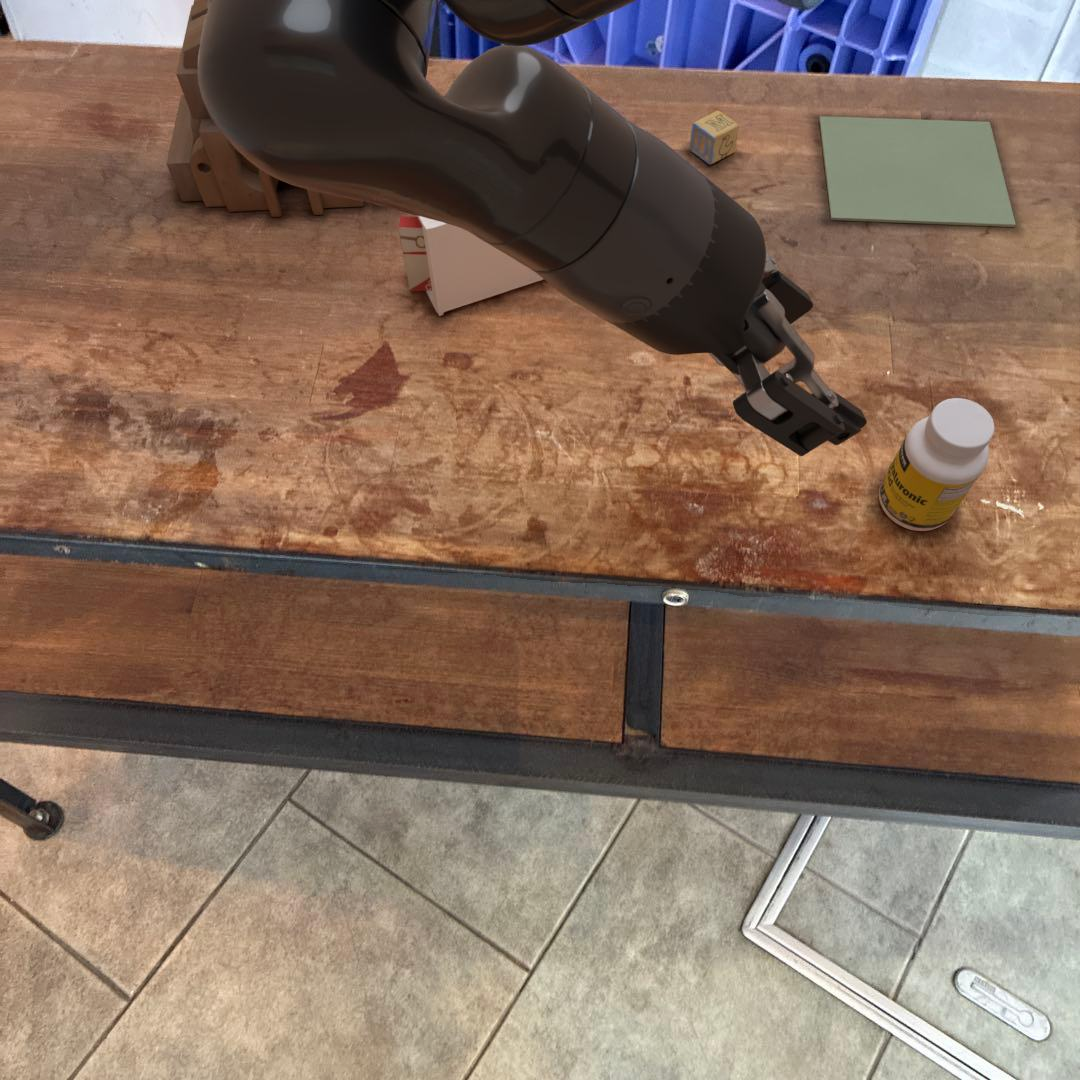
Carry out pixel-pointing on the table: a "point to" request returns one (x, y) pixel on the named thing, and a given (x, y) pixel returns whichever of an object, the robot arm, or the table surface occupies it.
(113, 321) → the table surface
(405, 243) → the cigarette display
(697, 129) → the alphabet block
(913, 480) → the supplement bottle
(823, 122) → the mat
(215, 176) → the wooden puzzle
